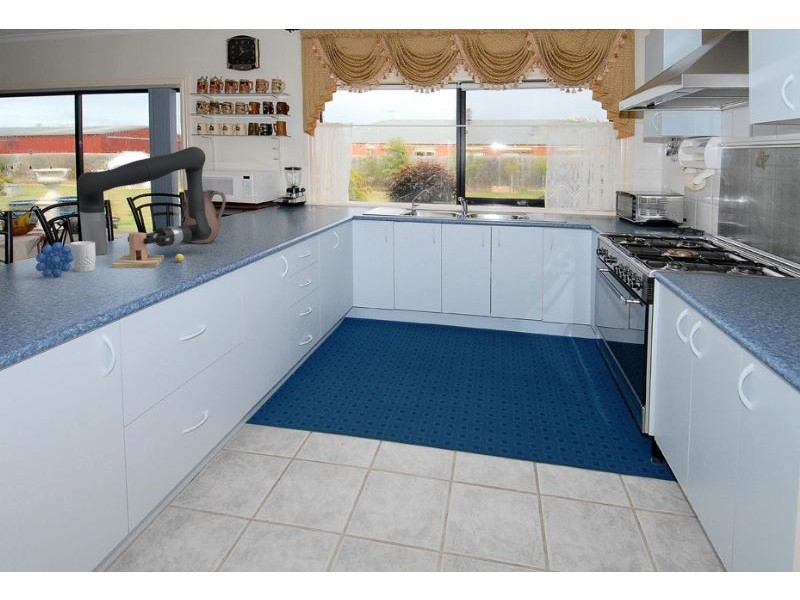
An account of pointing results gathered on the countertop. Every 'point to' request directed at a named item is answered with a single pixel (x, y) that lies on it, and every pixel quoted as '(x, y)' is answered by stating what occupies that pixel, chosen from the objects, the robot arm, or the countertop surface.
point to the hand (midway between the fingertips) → (136, 240)
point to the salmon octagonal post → (137, 246)
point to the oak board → (138, 262)
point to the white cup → (84, 256)
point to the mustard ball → (179, 257)
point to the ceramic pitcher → (210, 215)
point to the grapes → (54, 260)
